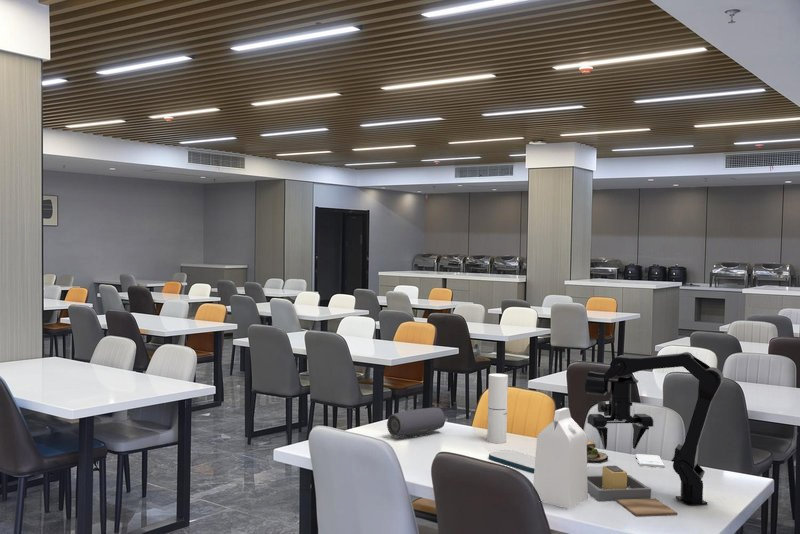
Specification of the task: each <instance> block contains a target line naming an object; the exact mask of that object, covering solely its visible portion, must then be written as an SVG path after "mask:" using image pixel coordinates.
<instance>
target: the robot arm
mask: <svg viewBox="0 0 800 534" xmlns="http://www.w3.org/2000/svg"><path fill="white" fill-rule="evenodd" d="M680 367H681V368H684V370H686V371H687V372H689V373H690V374H691V375H692V376H693V377H694V378H695V379H697V380H698V386H697V387H698V388H697V400H696V403H695V407H694V410H693V413H692V417H691V419H690V423H689V425H688V429H687V432H686V436H685V439H684V442H683V444H680V443H679V444H677V446H676V447H675V448H674V455H673V457H672V459H671V462H672V468H673V471H674V472H675V473H676V474H677V475H678V476H679V479H680V495H676V496H675V499H677V500H678V501H680V502H681V503H683V504H685V506H699V505H708V502H707V501H705V500H704V496H703V495H704V483H703V482H704V481H703V480H702V479H703V477H704V474H705V473H706V471H705V470H704V469H703V468H702V466H700V465H699V463H698V459H699V444H700V441H701V437H702V434H703V432H704V428H705V424H706V421H707V418H708V416H709V412H710V410H711V405H712V402H713V400H714V398H715V396H716V395H717V393H718V391H719V389H720V387H721V385H722V384H723V382H724V373H723V372H722V371H721V370H720V368H717V367H714V366H713V367H712V366H710V365H708V364H707V363H706V362H703V360H701V359H699V358H697V357H696V356H695V355H694V354H693V353H691V352H688V351H685V352H681V353H670V354H660V355H650V356H638V355H630V354H629V355H627V354H620V355H619V356H616V357H614V358H613V359H611V361H610V364H609V368H608V370H607V371H605V373H604V372H603V373H602V372H596V371H588V372H587V377H586V380H585V381H586V382H585V384H584V389H585V393H586V394H588V395H597V396H606V395H607V393H608V394H609V393H610V398H609V399H608V403H606V401H598V402H597V412H598V413H590V414H588V416H587V424H589V425H591V426H592V427H593V428H595V429H596V430H597V433H598V435H599V438H600V441H601V445H602V447H603V449H604V450H606V449H607V448H608V447H607V446H608V427H607V425H608V424H631V425H632V428H633V434H632V448H633V450H636V449H637V447H638V444H639V443H640V441H641V438H642V437H643V435H644V434H645V433H646V431H647V430H650V428H651V427H654V422H655V421H654V419H653V417H652V416H650V415H648V414H646V413H634V414H633V415H631V407H632V406H633V402H632V399H631V398H632V395H631V394H632V385H637V384H638V383H639V380H638V379H637V378H636V377H635V376H634V375H633V373H637V372H642V371H647V370H658V369H669V368H671V369H672V368H680ZM630 374H631V375H630ZM626 375H630V376H629V377H628V376H626ZM615 376H617V377H618V378H614V377H615ZM601 413H603V414H601Z"/></svg>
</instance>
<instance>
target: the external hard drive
mask: <svg viewBox="0 0 800 534" xmlns="http://www.w3.org/2000/svg"><path fill="white" fill-rule="evenodd" d="M535 457H536V456H534V455H529V454H528V453H526V454H525V453H523V452H519V451H515V450H513V449H512V450H511V449H502V450H498V451H497V450H496V451H493V452H489V454H488V458H489V460H491V461H493V462H496V463H498V464H502V465H506V466H509V467H512V468H514V469H515V468H516V469H518V470H522V471H525V472H528V473H531V474H534V469H535Z"/></svg>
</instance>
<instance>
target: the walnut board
mask: <svg viewBox="0 0 800 534" xmlns="http://www.w3.org/2000/svg"><path fill="white" fill-rule="evenodd" d="M616 503H617V504H619V505H620V506H621V507H623V508H624V509H625V510H627V511H628V512H630V513H631V514H632V515H633V516H635V517H657V516H659V517H660V516H662V517H663V516H678V512H677V511H676V510H675V509H672V508H671V507H669V506H668V505H666V504H665V503H663V502H662V501H660V500H659V499H657V498H656V497H655V498H652V497H651V499H621V500H617V501H616Z"/></svg>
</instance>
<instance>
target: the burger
mask: <svg viewBox="0 0 800 534" xmlns="http://www.w3.org/2000/svg"><path fill="white" fill-rule="evenodd" d="M596 447H597V445H596V443H595V442H593V441H589V440H588V441H587V462H589V461H590V462H600V461H603V460H605V459H606V458H607V459H608V460H609V455H608V454H606V453H604V452H601V451H599V450H598V449H596ZM607 459H606V460H607Z"/></svg>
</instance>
